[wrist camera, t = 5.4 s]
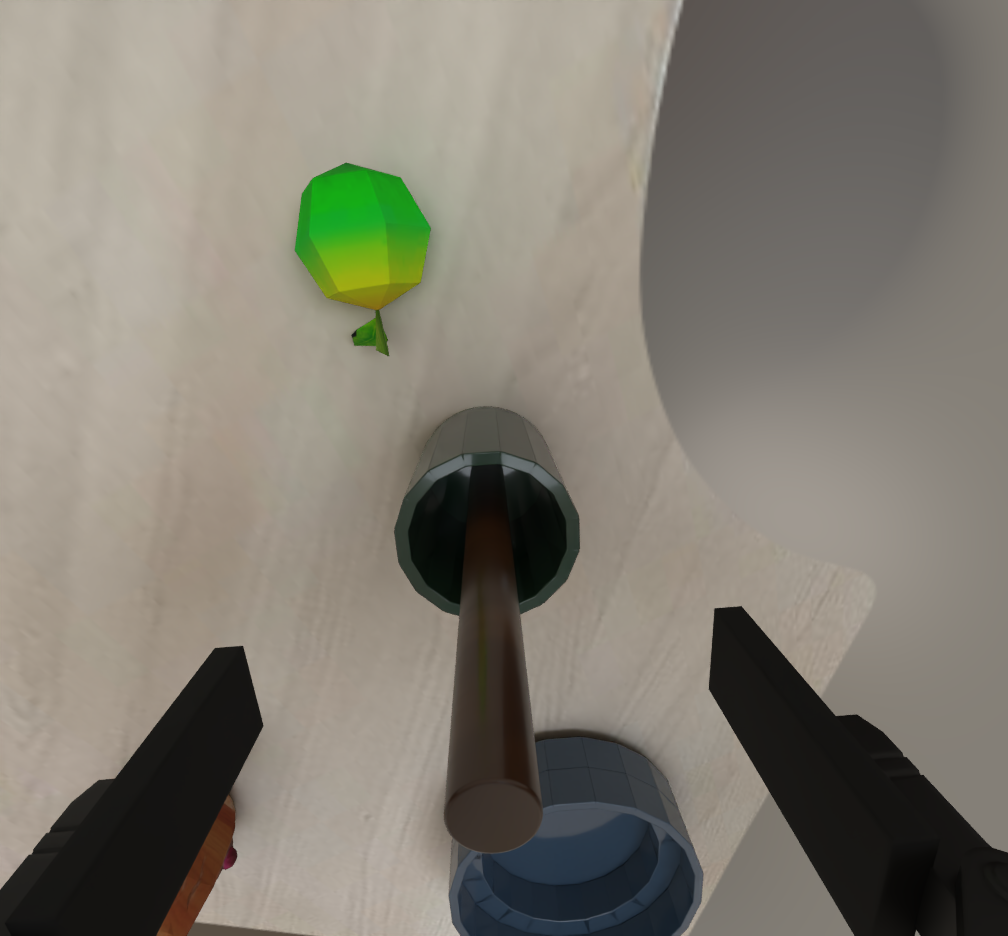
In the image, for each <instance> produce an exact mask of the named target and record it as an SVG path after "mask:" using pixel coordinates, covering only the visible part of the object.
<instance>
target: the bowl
mask: <svg viewBox="0 0 1008 936" xmlns="http://www.w3.org/2000/svg"><path fill="white" fill-rule="evenodd" d="M535 746H536V754H537V763H538V772H539V780H540V789H541V797H542V806H543V818H542V822H541V825H540V827H539V829H538V831H537V833H536V834H535V835H534V837H533V838H532V839H531V840H530V841H528V842H527V843H526V844H524V845H522V846H521V847H519V848H516V849H514V850H511V851H508V852H503V853H493V854H490V853H480V852H476V851H472V850H470V849H467V848H465V847H463V846H462V845H460V844H459V843H457V842H456V841H455V840H454V839H453V838H452V847H451V864H450V881H449V902H450V909H451V917H452V923H453V925H454V926H455V928H456V930H457V931H458V933H459V934H460V936H680V935H682V934H683V933H684V932H685V931H686V930H687V928H688V927H689V925H690V923H691V921H692V919H693V917H694V915H695V913H696V911H697V910H698V908H699V906H700V904H701V899H702V886H703V871H702V868H701V866H700V863H699V860H698V858H697V855H696V853H695V850H694V848H693V845H692V842H691V840H690V837H689V835H688V832H687V829H686V827H685V824H684V822H683V819H682V816H681V814H680V811H679V809H678V806H677V803H676V801H675V798H674V796H673V793H672V791H671V788H670V785H669V783H668V780H667V779H666V778H665V777H664V776H663V775H662V774H661V773H660V772H659V771H658V769H657V768H656V767H655V766H654V765H653V764H652V763H651V762H650V761H649V760H648V759H647V758H646V757H644V756H642V755H640V754H638V753H636V752H634V751H632V750H630V749H628V748H626V747H624V746H622V745H620V744H618V743H614V742H609V741H603V740H597V739H592V738H586V737H569V738H557V739H545V740H541V741H538V742H535Z"/></svg>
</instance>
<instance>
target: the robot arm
mask: <svg viewBox="0 0 1008 936" xmlns="http://www.w3.org/2000/svg"><path fill="white" fill-rule="evenodd" d="M709 690H710V692H711V693H712V695H713V697H714V699H715V700H716V702H717V704H718V705H719V707H720V709H721V710H722V712H723V714H724V716H725V717H726V719H727V721H728V722H729V724H730V726H731V727H732V729H733V731H734V732H735V734H736V736H737V738H738V739H739V741H740V743H741V744H742V746H743V748H744V749H745V751H746V753H747V754H748V756H749V758H750V760H751V761H752V763H753V765H754V766H755V768H756V770H757V771H758V773H759V775H760V776H761V778H762V780H763V782H764V783H765V785H766V787H767V788H768V790H769V792H770V793H771V795H772V797H773V798H774V800H775V802H776V804H777V805H778V807H779V809H780V810H781V812H782V814H783V815H784V817H785V819H786V820H787V822H788V824H789V825H790V827H791V829H792V831H793V832H794V834H795V836H796V837H797V839H798V841H799V843H800V844H801V846H802V847H803V849H804V851H805V853H806V854H807V856H808V858H809V859H810V861H811V863H812V865H813V866H814V868H815V870H816V871H817V873H818V875H819V876H820V878H821V880H822V881H823V883H824V885H825V886H826V888H827V890H828V892H829V893H830V895H831V896H832V898H833V900H834V902H835V903H836V905H837V907H838V908H839V910H840V912H841V914H842V915H843V917H844V919H845V920H846V922H847V924H848V926H849V927H850V929H851V930H852V932H853V934H854V936H915V932H916V930H917V931H918V933H919V934H920V935H921V936H1008V853H1007V852H1004V851H1001V850H997V849H994V848H992V847H991V846H990V845H989V844H987V843H986V842H985V840H983V838H982V837H981V836H980V835H979V834H978V833H977V832H976V831H975V830H974V829H973V828H972V827H971V826H970V824H969V823H968V822H967V821H966V820H965V819H964V818H963V817H962V816H961V815H960V814H959V813H958V812H957V811H956V809H955V808H954V807H953V806H952V805H951V804H950V803H949V802H948V801H947V800H946V799H945V798H944V797H943V796H942V795H941V794H940V792H939V791H938V790H937V789H936V788H935V787H934V786H933V785H932V784H931V783H930V782H929V781H928V780H927V779H926V778H925V776H924V775H920V773H919V770H918V769H917V768H916V767H915V766H914V765H913V764H912V763H911V761H910V760H909V759H908V758H907V757H904V756H903V753H902V752H901V751H900V750H899V749H898V748H897V747H896V745H895V744H894V743H893V742H892V741H891V740H890V739H889V738H888V737H887V736H886V735H885V734H884V733H883V732H882V731H881V730H879V729H878V728H876V727H875V726H873V725H872V724H870V723H869V722H867V721H866V720H864V719H862V718H861V717H860V716H858V715H845V716H835V715H834V714H833V712H832V711H831V710H830V709H829V708H828V707H827V705H826V704H825V703H824V702H823V701H822V700H821V698H820V697H819V696H818V695H817V694H816V693H815V691H814V690H813V689H812V688H811V687H810V686H809V684H808V683H807V682H806V681H805V680H804V679H803V677H802V676H801V675H800V674H799V673H798V672H797V670H796V669H795V668H794V667H793V666H792V665H791V663H790V662H789V661H788V660H787V659H786V658H785V656H784V655H783V654H782V653H781V652H780V651H779V649H778V648H777V647H776V646H775V645H774V644H773V642H772V641H771V640H770V639H769V638H768V637H767V635H766V634H765V633H764V632H763V631H762V630H761V628H760V627H759V626H758V625H757V624H756V623H755V621H754V620H753V619H752V618H751V617H750V616H749V614H748V613H747V612H746V611H745V610H744V609H743V607H742V606H739V607H727V608H715V610H714V624H713V638H712V652H711V665H710V679H709ZM262 728H263V722H262V718H261V714H260V710H259V706H258V702H257V699H256V695H255V691H254V687H253V683H252V679H251V675H250V671H249V667H248V663H247V659H246V656H245V652H244V648H243V646H235V647H223V648H215V649H214V650H213V651H212V653H211V654H210V655H209V656H208V658H207V659H206V660H205V662H204V663H203V664H202V666H201V667H200V668H199V670H198V671H197V672H196V673H195V675H194V676H193V677H192V679H191V680H190V681H189V683H188V684H187V685H186V687H185V688H184V689H183V690H182V692H181V693H180V694H179V696H178V697H177V698H176V700H175V701H174V702H173V704H172V705H171V706H170V707H169V709H168V710H167V711H166V713H165V714H164V715H163V717H162V718H161V719H160V721H159V722H158V723H157V724H156V726H155V727H154V728H153V730H152V731H151V732H150V734H149V735H148V736H147V738H146V739H145V740H144V741H143V743H142V744H141V745H140V747H139V748H138V749H137V751H136V752H135V753H134V754H133V756H132V757H131V758H130V760H129V761H128V762H127V764H126V765H125V766H124V768H123V769H122V770H121V771H120V773H119V774H118V775H117V777H116V778H115V779H106V780H98V781H97V782H96V783H95V784H93V785H92V786H91V787H90V788H89V789H87V790H86V791H85V792H84V793H83V794H81V795H80V796H79V797H78V798H76V799H75V800H74V801H73V802H72V803H71V804H70V805H69V806H68V807H67V809H66V810H65V811H64V812H63V814H62V815H61V816H60V817H59V818H58V820H57V821H56V822H55V823H54V825H53V826H52V827H51V830H50V832H49V833H46V834H45V836H44V837H43V838H42V839H41V841H40V842H39V843H38V844H37V845H36V847H35V848H34V849H33V853H32V855H28V856H27V858H26V859H25V860H24V861H23V863H22V864H21V865H20V866H19V867H18V869H17V870H16V871H15V872H14V874H13V875H12V876H11V877H10V879H9V880H8V881H7V882H6V883H5V885H4V886H3V887H2V888H1V890H0V936H156V935H157V933H158V931H159V929H160V928H161V926H162V924H163V922H164V920H165V918H166V916H167V914H168V912H169V910H170V908H171V906H172V904H173V902H174V900H175V898H176V896H177V894H178V892H179V890H180V888H181V886H182V884H183V882H184V881H185V879H186V877H187V875H188V873H189V871H190V869H191V867H192V865H193V863H194V861H195V859H196V857H197V855H198V853H199V851H200V849H201V847H202V845H203V843H204V841H205V839H206V837H207V835H208V834H209V832H210V830H211V828H212V826H213V824H214V822H215V820H216V818H217V816H218V814H219V812H220V810H221V808H222V806H223V804H224V802H225V800H226V798H227V796H228V794H229V792H230V790H231V788H232V787H233V785H234V783H235V781H236V779H237V777H238V775H239V773H240V771H241V769H242V767H243V765H244V763H245V761H246V759H247V757H248V755H249V753H250V751H251V749H252V747H253V745H254V743H255V741H256V740H257V738H258V736H259V734H260V732H261V730H262Z"/></svg>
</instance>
